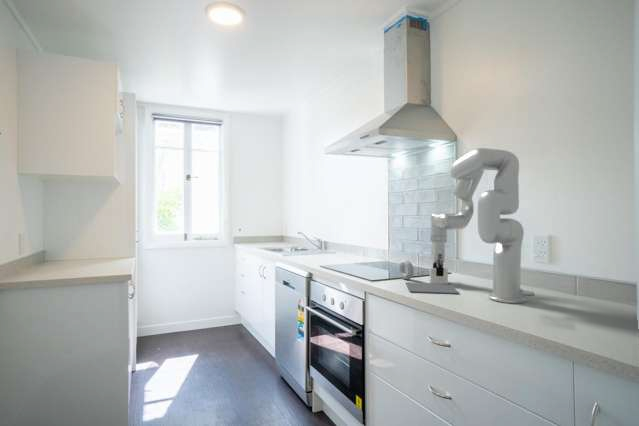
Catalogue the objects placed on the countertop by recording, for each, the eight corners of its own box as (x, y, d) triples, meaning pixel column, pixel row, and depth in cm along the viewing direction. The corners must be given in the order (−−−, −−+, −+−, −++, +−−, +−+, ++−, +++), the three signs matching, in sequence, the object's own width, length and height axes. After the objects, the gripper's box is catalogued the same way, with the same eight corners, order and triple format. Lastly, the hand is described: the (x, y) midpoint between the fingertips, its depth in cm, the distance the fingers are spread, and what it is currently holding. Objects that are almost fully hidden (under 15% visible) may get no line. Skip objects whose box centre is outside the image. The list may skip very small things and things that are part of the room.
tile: (446, 282, 178) (446, 268, 178) (447, 283, 176) (447, 268, 176) (429, 282, 179) (429, 267, 179) (430, 282, 177) (430, 268, 177)
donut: (396, 278, 189) (396, 258, 189) (402, 277, 191) (402, 258, 191) (409, 281, 180) (409, 261, 180) (415, 280, 182) (415, 260, 182)
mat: (449, 284, 172) (449, 283, 172) (459, 294, 152) (459, 292, 152) (405, 283, 175) (405, 282, 175) (410, 292, 155) (410, 291, 155)
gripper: (427, 237, 187) (427, 270, 187) (433, 240, 169) (432, 277, 170) (443, 237, 185) (442, 271, 186) (450, 240, 168) (449, 277, 169)
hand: (437, 274), depth 178 cm, fingers open, 9 cm apart
